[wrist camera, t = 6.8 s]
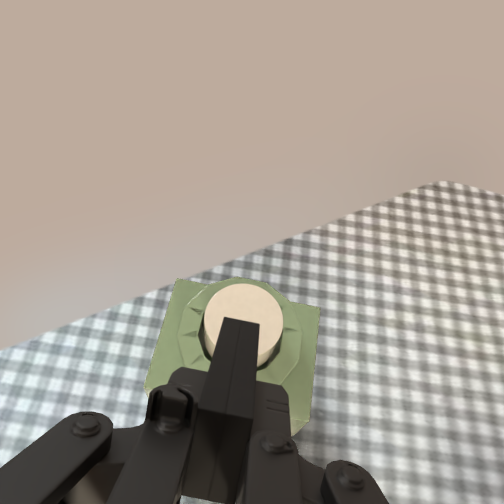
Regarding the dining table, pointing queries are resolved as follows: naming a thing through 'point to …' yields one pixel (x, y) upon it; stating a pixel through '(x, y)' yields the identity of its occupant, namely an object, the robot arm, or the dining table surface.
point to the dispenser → (272, 371)
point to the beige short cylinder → (245, 316)
